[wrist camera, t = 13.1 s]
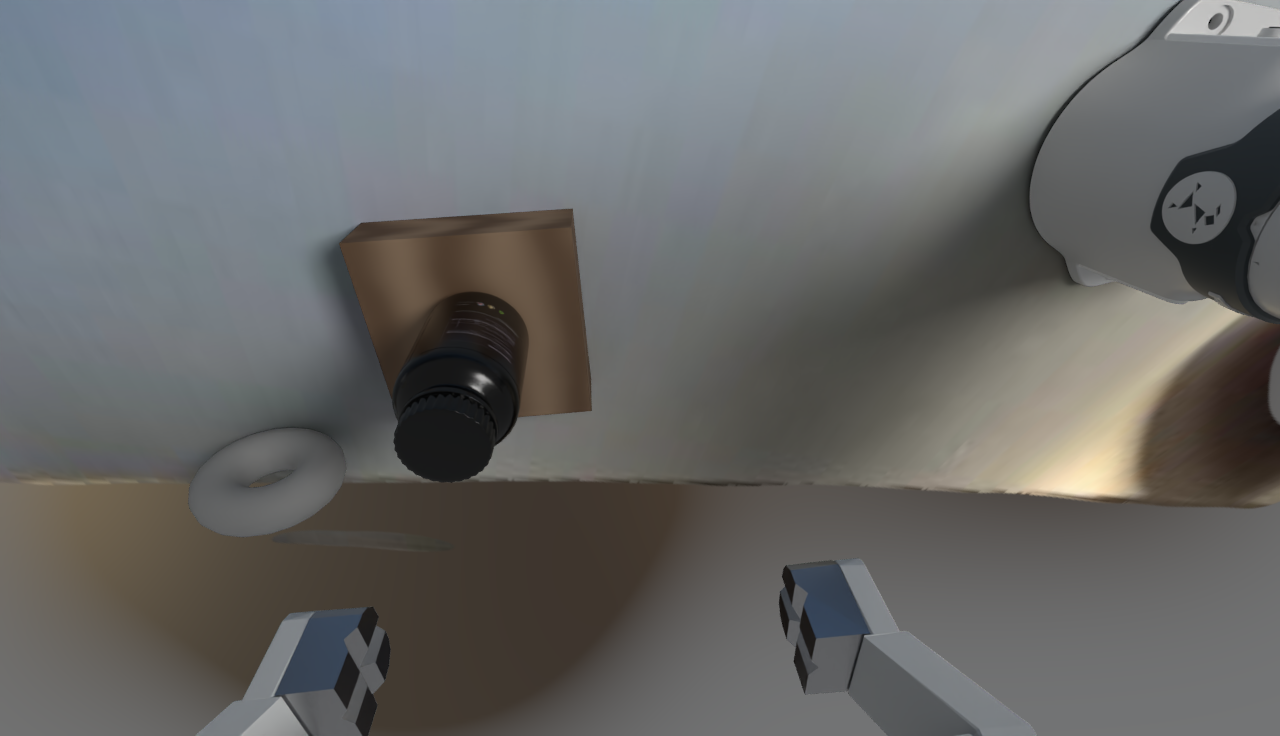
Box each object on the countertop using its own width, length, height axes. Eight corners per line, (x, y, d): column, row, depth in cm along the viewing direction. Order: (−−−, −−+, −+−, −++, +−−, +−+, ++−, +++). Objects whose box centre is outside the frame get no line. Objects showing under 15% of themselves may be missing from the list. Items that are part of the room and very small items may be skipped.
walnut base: (572, 208, 38) (571, 227, 35) (591, 381, 46) (591, 410, 42) (361, 222, 38) (339, 243, 34) (415, 396, 45) (401, 426, 42)
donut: (241, 452, 47) (165, 549, 38) (228, 418, 45) (144, 512, 36) (368, 451, 48) (321, 546, 39) (360, 418, 46) (308, 510, 37)
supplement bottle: (511, 389, 41) (486, 513, 30) (415, 357, 39) (354, 478, 28) (546, 310, 38) (531, 418, 27) (443, 270, 36) (386, 372, 25)
